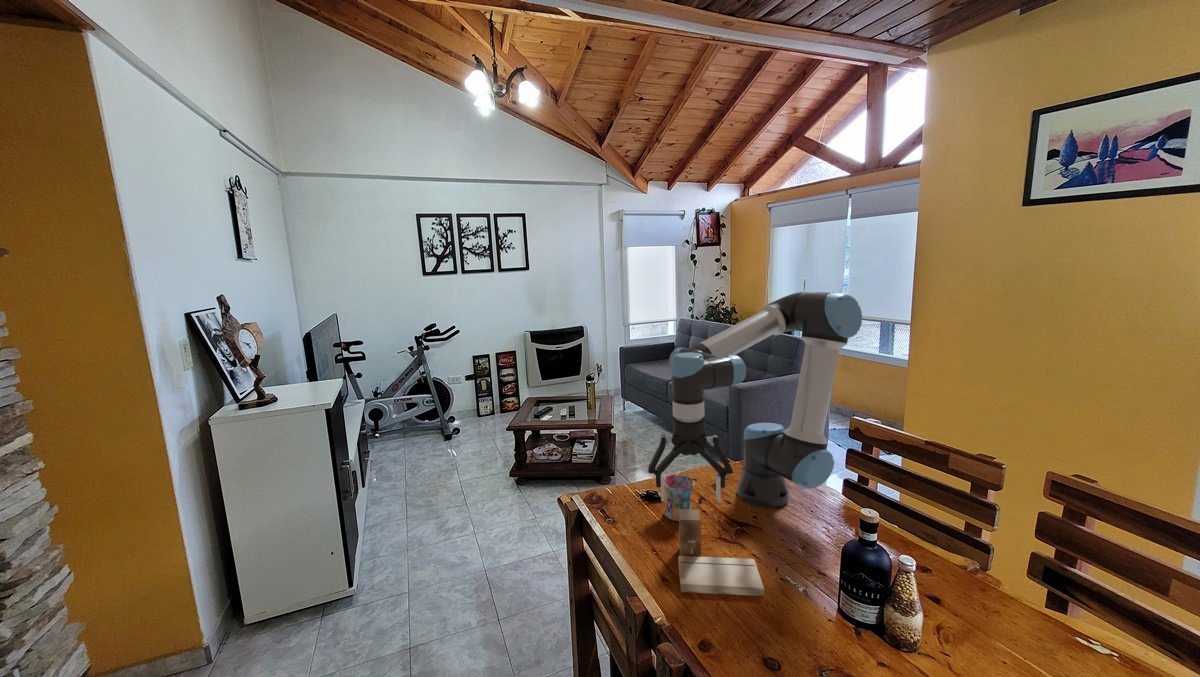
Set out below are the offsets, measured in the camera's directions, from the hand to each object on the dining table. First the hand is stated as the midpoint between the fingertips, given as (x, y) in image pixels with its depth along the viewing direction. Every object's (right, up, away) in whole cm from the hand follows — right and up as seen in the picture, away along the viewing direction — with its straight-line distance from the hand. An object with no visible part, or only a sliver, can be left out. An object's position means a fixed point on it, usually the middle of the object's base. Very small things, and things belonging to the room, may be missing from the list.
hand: (690, 499), depth 112 cm
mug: (+2, -12, +21) cm, 25 cm away
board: (+5, -16, -7) cm, 18 cm away
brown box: (0, -15, 0) cm, 15 cm away
